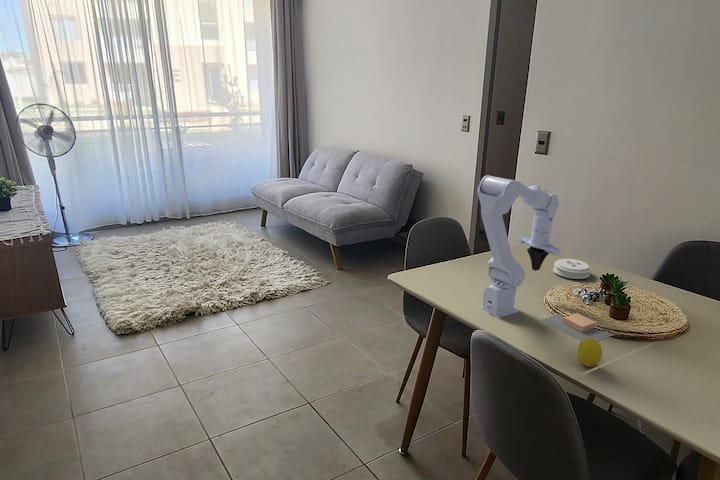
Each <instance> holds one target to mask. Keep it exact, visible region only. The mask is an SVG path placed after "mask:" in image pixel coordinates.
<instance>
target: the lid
mask: <svg viewBox="0 0 720 480" xmlns="http://www.w3.org/2000/svg"><path fill="white" fill-rule="evenodd" d="M553 265H554V267H553V269H552V271H553V272H554V273H555V274H556V275H559V276H561V277H564V278H568V279H575V280H576V279H578V280H579V279H580V280H581V279H587V278H589V277H591V273H590V272H591V266H590V265H589V264H588V263H587V262H584V261H583V260H578V259H575V258H559V259H558V260H555V261H554V262H553Z"/></svg>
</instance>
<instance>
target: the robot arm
mask: <svg viewBox="0 0 720 480" xmlns="http://www.w3.org/2000/svg"><path fill="white" fill-rule="evenodd" d="M476 192H477V195H478V199H479V203H480V215H481V216H480V217H481V219H482V223H483V226H484V230H485V234H486V238H487V242H488V245H489V248H490V252H491V258H489V260H488V262H487V266H488V267H487V274H488V275H487V276H488V277H489V278H490V282H492V283H491V284H490V285H489V286H487V287H486V288H485V289H484V291H483V298H482V305H481V306H480V309H482V310H483V311H485V312H487V313H489V314H491V315H492V316H494V317H495V318H498V319H499V318H500V319H501V318H503V317H505V316H510V315H513V314H516V313H519V312H520V311H521V310H520V309H518V308H517V307H515V304H516V295H517V288H518V287H520V286H521V285H522V283H523V282H524V280H525V277H526V273H525V269H524V268H522V266H521V263H520V262H519V260H517V259H516V258H515V257H514V256H513V254H512V250H511V246H510V242H509V239H508V233H507V229H506V225H505V222H504V218H503V215H505V214H508V213H509V211H510V209H511V208H512V206H513V205H514V203H515V201H516V200H517V198H519V197H521V200H522V202H523V203H524V204H526V205H527V206H530V207H531V208H532V209H533V210H534V212H533V219H532V227H531V234H530V235H531V236H530V237H527V236H520V237H519V242H518V243H520V244H524V245H526V246H529V248H527V250H526V251H527V253H528V255H529V257H530V264H531V270H533V271H535V272H536V271H540V269H541V267H542V264H543V262H544V261H545V259H546V258H547V256H548V255H549V254H552V256H555V257H557V256H560V255H561V249H560V248H558V247H556V246H554V245H553V244H551V242H550V240H551V236H552V235H551V234H552V233H551V232H552V229H553V222H554V221H553V220H554V218H555V216H556V213H557V210H558V208H559V205H560V200H559V197H558V196H557V195H555V194H552V193H548V190H546V189H541V186H539V185H538V184H537V185H536V184H533V185H530V186H526V185H525V184H523V183H522V182H521V181H519V180H515V179H509V178H502V177H498V176H492V175H489V174H487V175H485V176H483V177H482V178H481V180H480V182H479V185H478V187H477V190H476Z"/></svg>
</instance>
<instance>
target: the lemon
mask: <svg viewBox="0 0 720 480" xmlns="http://www.w3.org/2000/svg"><path fill="white" fill-rule="evenodd" d="M576 356H577V359H578V361H579V362H580V364H582V365H584V366H585V367H595V366H596V365H598V364H599V363H600V362H601V359H602V356H603V349H602V346H601V344H600V343H599V341H598V342H597V341H596V340H594V339H592V338H591V339H585V340H583V341H580V343H579V345H578V347H577V351H576Z"/></svg>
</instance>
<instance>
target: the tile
mask: <svg viewBox="0 0 720 480" xmlns="http://www.w3.org/2000/svg"><path fill="white" fill-rule="evenodd" d="M563 323H564V324H566V325H568V326H570V327H572V328H574V329H576V330H578V331H580V332H585V331H588V330H590V329H593V328H595V326H596V325H597V321H595V320H593V319H592V318H588V317H586V316H584V315H583V314H580V313H579V312H575V313H573V314H572V315H569V316H566V317H563Z"/></svg>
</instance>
